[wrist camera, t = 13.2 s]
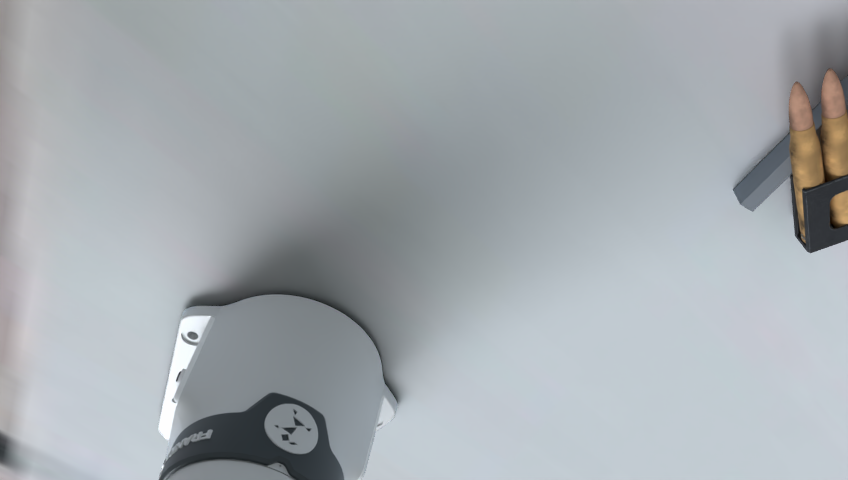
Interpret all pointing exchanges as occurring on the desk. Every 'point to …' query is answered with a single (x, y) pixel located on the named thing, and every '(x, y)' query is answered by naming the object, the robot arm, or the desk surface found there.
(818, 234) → the ammunition clip
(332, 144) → the desk surface
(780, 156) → the grey frame
